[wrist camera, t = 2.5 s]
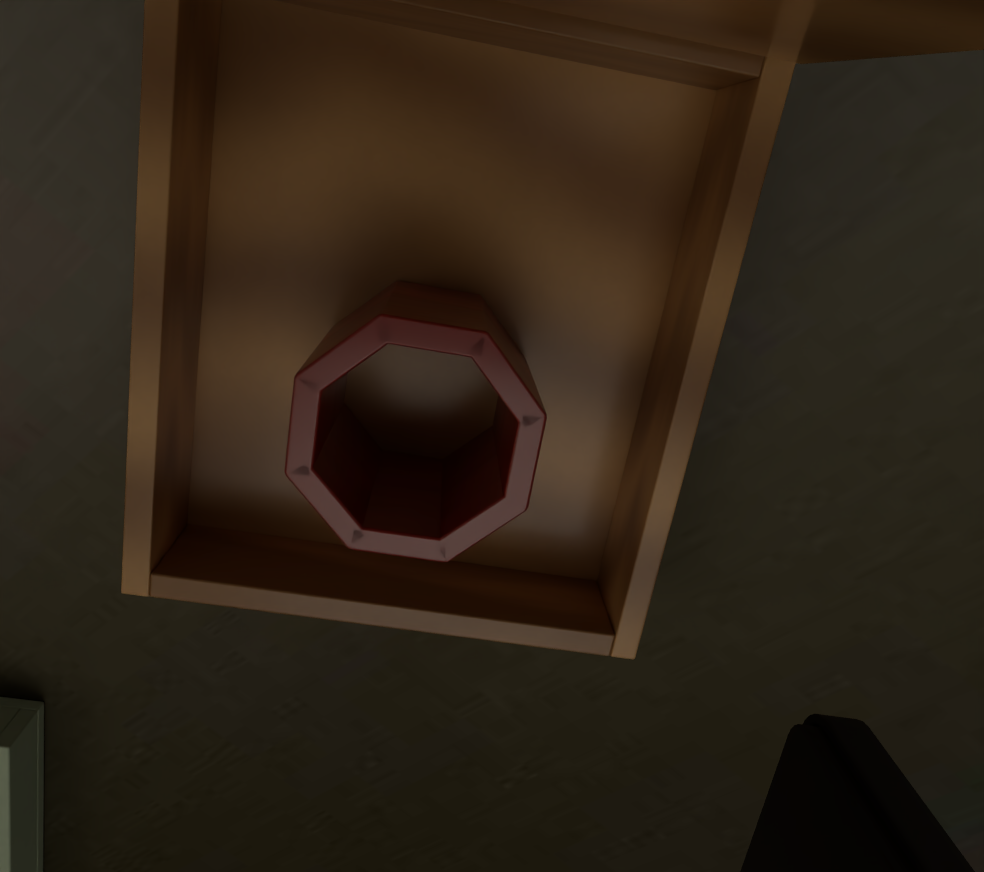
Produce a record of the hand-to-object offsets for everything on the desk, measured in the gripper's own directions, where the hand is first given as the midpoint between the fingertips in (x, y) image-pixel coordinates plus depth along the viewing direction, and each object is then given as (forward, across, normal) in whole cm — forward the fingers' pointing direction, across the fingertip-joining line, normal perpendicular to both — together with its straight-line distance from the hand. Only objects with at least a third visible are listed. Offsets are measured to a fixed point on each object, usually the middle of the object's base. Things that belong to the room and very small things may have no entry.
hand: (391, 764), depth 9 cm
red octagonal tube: (+17, 0, 0) cm, 17 cm away
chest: (+18, 0, -2) cm, 18 cm away
